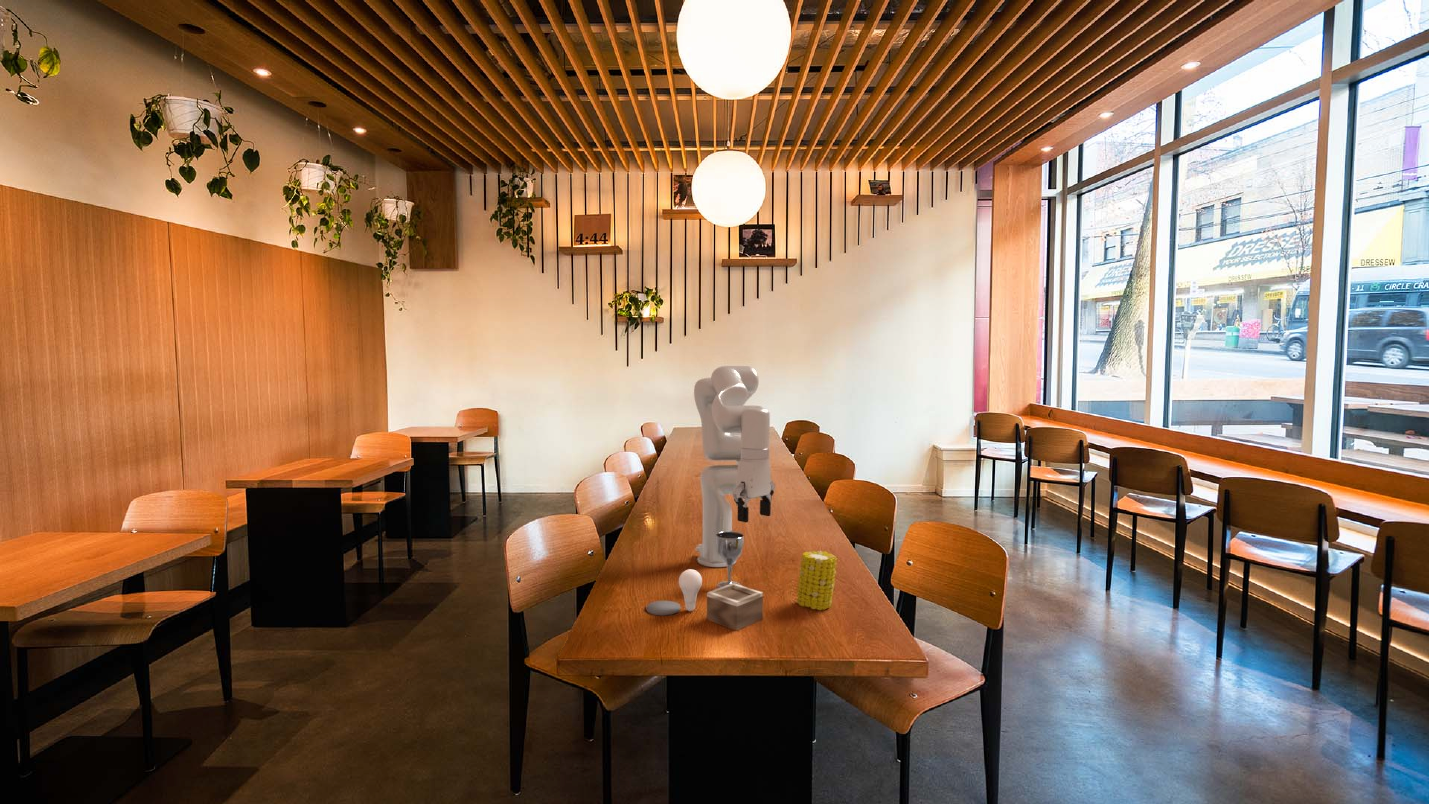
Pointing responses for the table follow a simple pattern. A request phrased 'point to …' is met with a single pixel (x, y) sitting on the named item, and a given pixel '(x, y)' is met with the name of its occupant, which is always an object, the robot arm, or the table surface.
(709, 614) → the square holder
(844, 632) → the table surface
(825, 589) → the food
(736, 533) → the wine glass
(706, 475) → the robot arm
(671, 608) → the grey flat disc
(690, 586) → the lightbulb
